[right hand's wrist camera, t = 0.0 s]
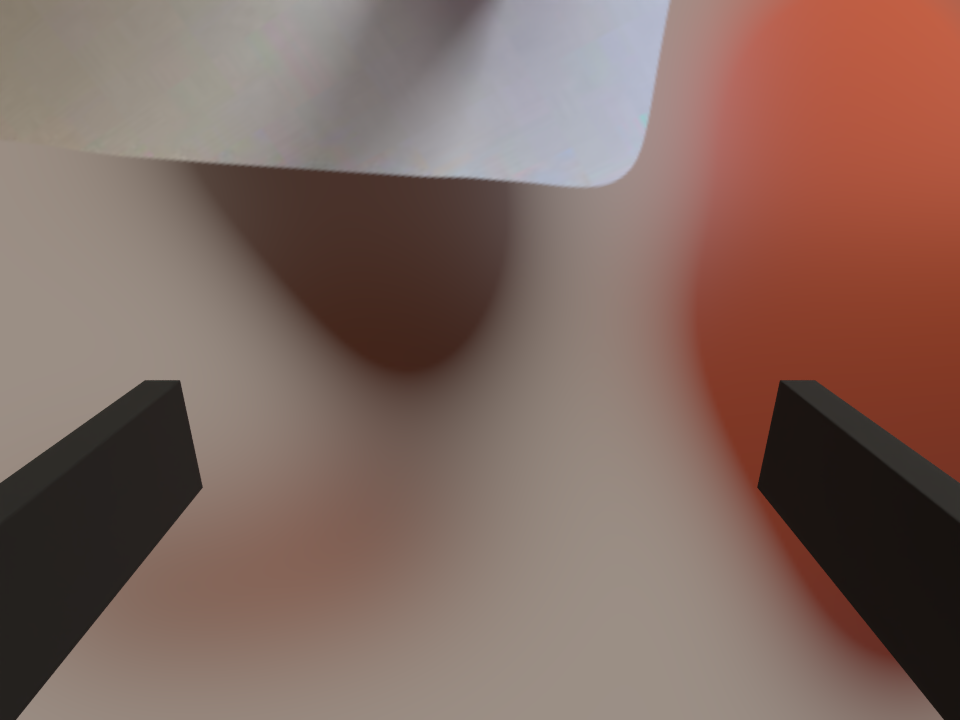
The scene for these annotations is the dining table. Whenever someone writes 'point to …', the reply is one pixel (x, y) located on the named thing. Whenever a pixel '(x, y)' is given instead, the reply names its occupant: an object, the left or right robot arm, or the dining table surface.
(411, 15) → the dining table surface
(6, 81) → the dining table surface
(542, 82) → the dining table surface
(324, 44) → the dining table surface
